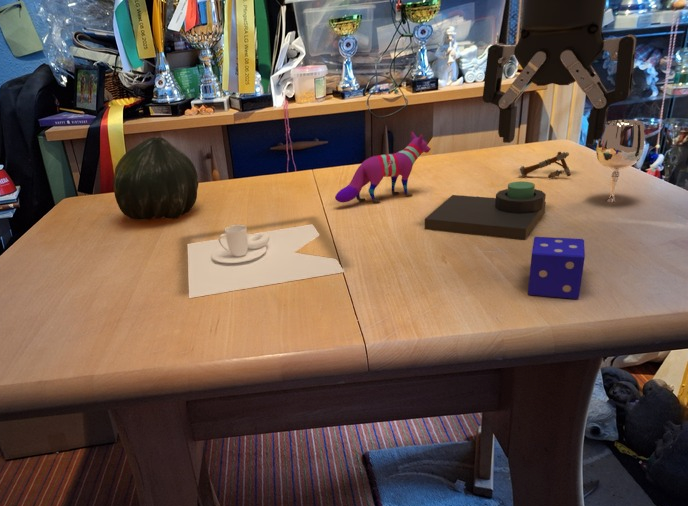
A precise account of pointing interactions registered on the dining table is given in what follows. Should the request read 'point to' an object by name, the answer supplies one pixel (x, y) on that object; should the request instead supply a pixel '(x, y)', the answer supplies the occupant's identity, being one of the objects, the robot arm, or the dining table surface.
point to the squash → (155, 181)
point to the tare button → (521, 190)
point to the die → (556, 267)
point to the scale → (489, 215)
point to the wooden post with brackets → (547, 162)
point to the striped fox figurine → (384, 171)
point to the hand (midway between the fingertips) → (547, 142)
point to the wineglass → (620, 147)
